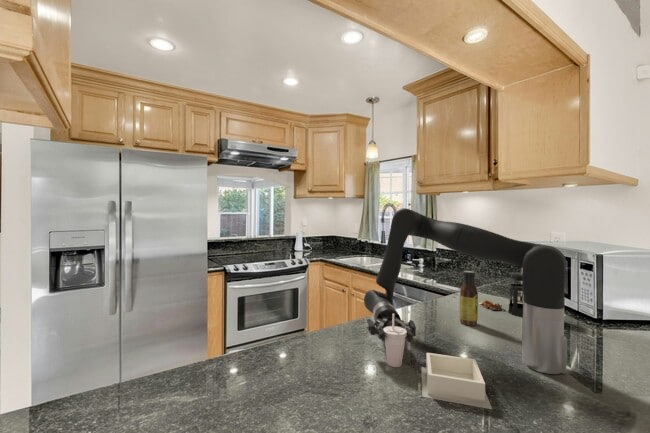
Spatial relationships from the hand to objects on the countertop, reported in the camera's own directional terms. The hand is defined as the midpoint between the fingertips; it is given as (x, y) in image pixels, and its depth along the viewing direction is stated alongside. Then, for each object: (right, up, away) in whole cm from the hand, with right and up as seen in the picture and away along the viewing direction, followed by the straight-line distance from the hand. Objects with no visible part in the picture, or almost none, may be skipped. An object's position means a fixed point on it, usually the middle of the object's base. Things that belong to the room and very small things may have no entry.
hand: (396, 337), depth 81 cm
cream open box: (+11, -8, -8) cm, 16 cm away
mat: (+11, -9, -8) cm, 16 cm away
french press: (+65, -10, +49) cm, 82 cm away
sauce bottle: (+36, -9, +37) cm, 52 cm away
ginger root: (+56, -10, +59) cm, 82 cm away
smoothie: (0, -9, +2) cm, 9 cm away
